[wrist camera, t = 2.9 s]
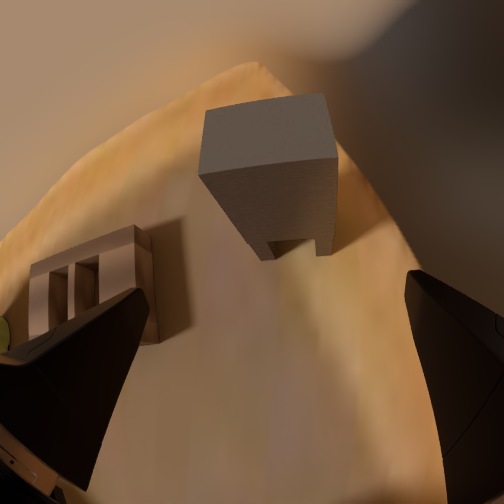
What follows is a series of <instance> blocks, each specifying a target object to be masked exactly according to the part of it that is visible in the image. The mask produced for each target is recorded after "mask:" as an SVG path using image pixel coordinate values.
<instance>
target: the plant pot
mask: <svg viewBox="0 0 504 504" xmlns="http://www.w3.org/2000/svg"><path fill="white" fill-rule="evenodd" d="M9 343H10V332H9V327H8V323H7V322H6V321H5V320H4V318H3V317H1V316H0V354H1V353H5V352H7V351H8V345H9Z"/></svg>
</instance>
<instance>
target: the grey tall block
mask: <svg viewBox="0 0 504 504" xmlns="http://www.w3.org/2000/svg"><path fill="white" fill-rule="evenodd" d="M198 176H199V177H200V179H201V180H202V181H203V183H204V184H205V185H206V187H207V188H208V190H209V191H210V192H211V194H212V195H213V197H214V198H215V199H216V201H217V202H218V204H219V205H220V206H221V208H222V209H223V211H224V212H225V213H226V215H227V216H228V218H229V219H230V220H231V222H232V223H233V224H234V226H235V227H236V229H237V230H238V231H239V233H240V234H241V236H242V237H243V238H244V240H245V241H246V243H247V244H249V245H250V246H251V248H252V249H253V250H254V252H255V253H256V255H257V256H258V257H259V259H260V260H261V261H264V260H276V253H275V241H284V240H295V239H307V238H315V248H316V256H328V255H331V254H332V241H333V236H334V234H335V221H336V205H337V186H338V152H337V148H336V143H335V138H334V134H333V130H332V125H331V121H330V117H329V113H328V109H327V105H326V101H325V97H324V93H315V94H304V95H295V96H286V97H279V98H272V99H265V100H258V101H252V102H246V103H241V104H235V105H230V106H225V107H220V108H216V109H211V110H207V111H206V113H205V121H204V128H203V136H202V144H201V152H200V161H199V170H198Z"/></svg>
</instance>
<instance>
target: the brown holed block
mask: <svg viewBox="0 0 504 504" xmlns="http://www.w3.org/2000/svg"><path fill="white" fill-rule="evenodd" d="M96 270H99V304H100V303H102V302H104V301H106V300H108V299H110V298H112V297H114V296H116V295H118V294H120V293H121V292H123V291H125V290H127V289H129V288H132V287H140V288H142V289H143V291H144V293H145V296H146V298H147V301H148V303H149V306H150V313H149V316H148V319H147V322H146V326H145V329H144V332H143V335H142V338H141V342H140V345H139V346H144V345H151V344H159V343H160V340H159V331H158V322H157V312H156V302H155V290H154V277H153V260H152V238H151V236H150V235H148V234H147V233H146V232H144V231H143V230H141V229H140V228H139V227H137V226H136V225H131V226H128V227H125V228H123V229H120V230H117V231H114V232H112V233H109V234H106V235H104V236H101V237H98V238H96V239H93V240H90V241H88V242H85V243H83V244H80V245H78V246H75V247H73V248H70V249H68V250H65V251H63V252H60V253H58V254H55V255H53V256H50V257H48V258H46V259H43V260H41V261H39V262H36V263H34V264H32V265H31V270H30V285H29V341H30V340H32V339H34V338H36V337H38V336H40V335H42V334H44V333H46V332H48V331H49V330H51V329H53V328H55V327H57V326H59V325H61V324H62V323H64V322H66V321H68V320H70V319H72V318H74V317H76V316H78V315H79V314H81V313H83V312H85V311H87V310H89V309H91V308H93V307H95V300H94V271H96Z"/></svg>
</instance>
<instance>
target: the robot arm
mask: <svg viewBox="0 0 504 504" xmlns="http://www.w3.org/2000/svg"><path fill="white" fill-rule="evenodd" d="M404 297H405V303H406V307H407V312H408V316H409V321H410V325H411V330H412V335H413V339H414V343H415V346H416V349H417V353H418V356H419V359H420V363H421V366H422V369H423V373H424V376H425V380H426V384H427V388H428V391H429V395H430V399H431V404H432V408H433V412H434V417H435V421H436V426H437V431H438V436H439V441H440V447H441V453H442V458H443V467H444V474H445V482H446V491H447V502H448V504H504V318H503V317H502V316H500V315H499V314H495V312H493V311H492V310H490V309H488V308H487V307H485V306H484V305H482V304H480V303H478V302H477V301H475V300H473V299H471V298H470V297H468V296H466V295H465V294H463V293H461V292H460V291H458V290H456V289H454V288H452V287H451V286H449V285H447V284H445V283H443V282H442V281H440V280H438V279H436V278H434V277H433V276H431V275H429V274H427V273H425V272H423V271H422V270H410V271H408V273H407V277H406V285H405V293H404ZM149 313H150V306H149V303H148V301H147V298H146V296H145V293H144V291H143V289H142V288H140V287H132V288H129V289H127V290H125V291H123V292H121V293H120V294H118V295H116V296H114V297H112V298H110V299H108V300H106V301H104V302H102V303H100V304H98V305H96V306H95V307H93V308H91V309H89V310H87V311H85V312H83V313H81V314H79V315H78V316H76V317H74V318H72V319H70V320H68V321H66V322H64V323H62V324H61V325H59V326H57V327H55V328H53V329H51V330H49V331H48V332H46V333H44V334H42V335H40V336H38V337H36V338H34V339H32V340H30V341H28V342H26V343H24V344H22V345H20V346H18V347H15V348H13V349H11V350H9V351H7V352H5V353H1V354H0V504H66V501H65V498H64V494H63V491H62V489H61V488H59V487H58V486H56V483H57V481H58V479H59V477H60V478H62V479H63V480H65V481H67V482H68V483H70V484H72V485H74V486H76V487H77V488H79V489H81V490H83V491H85V492H86V491H87V489H88V486H89V483H90V479H91V476H92V473H93V469H94V466H95V463H96V460H97V457H98V454H99V451H100V448H101V445H102V441H103V439H104V436H105V433H106V430H107V427H108V424H109V422H110V419H111V416H112V413H113V411H114V408H115V405H116V403H117V400H118V397H119V395H120V392H121V389H122V387H123V384H124V382H125V379H126V377H127V374H128V372H129V369H130V367H131V364H132V362H133V359H134V357H135V355H136V352H137V350H138V347H139V345H140V342H141V338H142V335H143V332H144V329H145V326H146V322H147V319H148V316H149Z"/></svg>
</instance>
